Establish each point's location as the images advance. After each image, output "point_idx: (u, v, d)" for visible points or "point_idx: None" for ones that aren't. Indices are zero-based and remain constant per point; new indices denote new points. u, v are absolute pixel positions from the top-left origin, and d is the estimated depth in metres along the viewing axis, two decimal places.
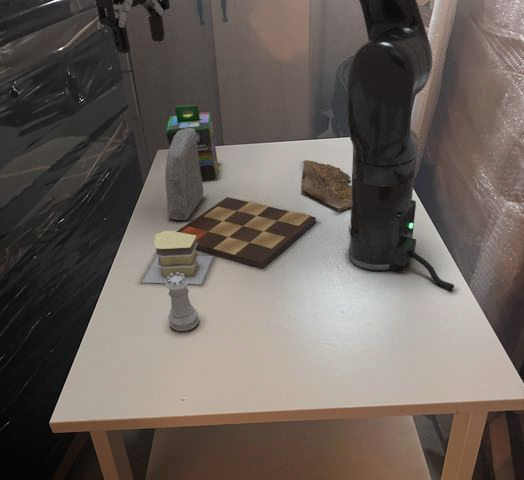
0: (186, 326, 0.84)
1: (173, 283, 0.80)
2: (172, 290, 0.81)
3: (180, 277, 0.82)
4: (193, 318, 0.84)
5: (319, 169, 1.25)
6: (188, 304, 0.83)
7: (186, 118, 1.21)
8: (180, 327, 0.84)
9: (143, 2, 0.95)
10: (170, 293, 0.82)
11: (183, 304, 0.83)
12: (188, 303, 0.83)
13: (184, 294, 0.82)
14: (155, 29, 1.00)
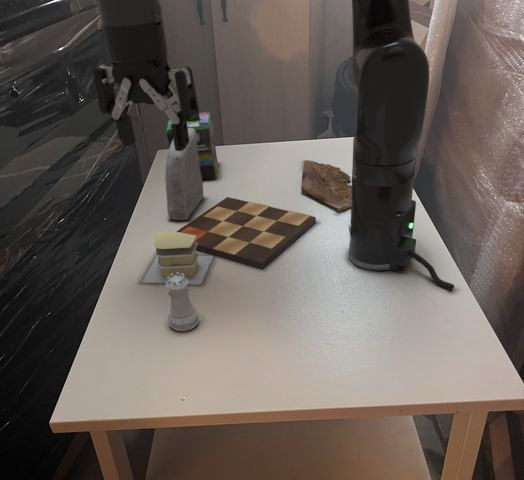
0: (186, 326, 0.84)
1: (173, 283, 0.80)
2: (172, 290, 0.81)
3: (180, 277, 0.82)
4: (193, 318, 0.84)
5: (319, 169, 1.25)
6: (188, 304, 0.83)
7: None
8: (180, 327, 0.84)
9: (150, 102, 0.78)
10: (170, 293, 0.82)
11: (183, 304, 0.83)
12: (188, 303, 0.83)
13: (184, 294, 0.82)
14: None
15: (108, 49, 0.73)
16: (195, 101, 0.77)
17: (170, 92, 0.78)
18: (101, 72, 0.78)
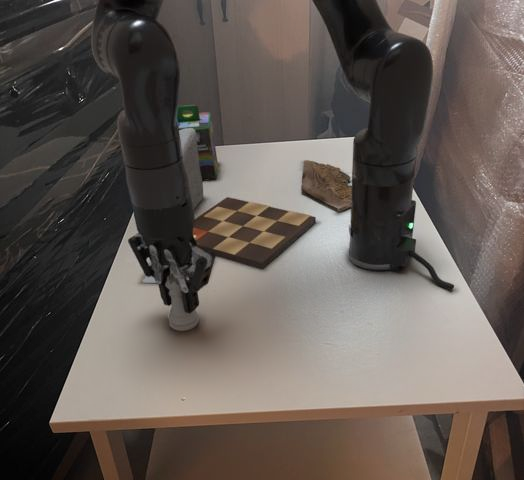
0: (186, 326, 0.84)
1: (173, 283, 0.80)
2: (172, 290, 0.81)
3: None
4: (193, 318, 0.84)
5: (319, 169, 1.25)
6: None
7: (186, 118, 1.21)
8: (180, 327, 0.84)
9: (167, 263, 0.79)
10: (170, 293, 0.82)
11: (182, 304, 0.83)
12: None
13: None
14: None
15: None
16: (207, 277, 0.79)
17: (190, 261, 0.79)
18: (134, 241, 0.80)
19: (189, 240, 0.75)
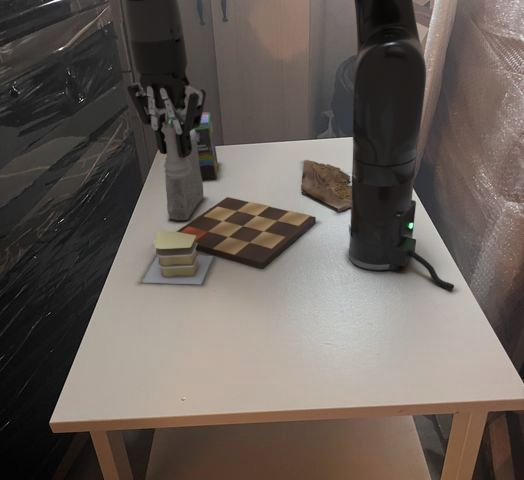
0: (180, 172, 0.93)
1: (168, 126, 0.89)
2: (167, 134, 0.90)
3: None
4: (186, 165, 0.93)
5: (319, 169, 1.25)
6: None
7: None
8: (175, 173, 0.93)
9: (163, 105, 0.87)
10: (165, 139, 0.91)
11: (177, 149, 0.91)
12: None
13: None
14: None
15: (134, 61, 0.83)
16: (199, 118, 0.87)
17: (184, 104, 0.88)
18: (133, 88, 0.89)
19: (182, 78, 0.84)
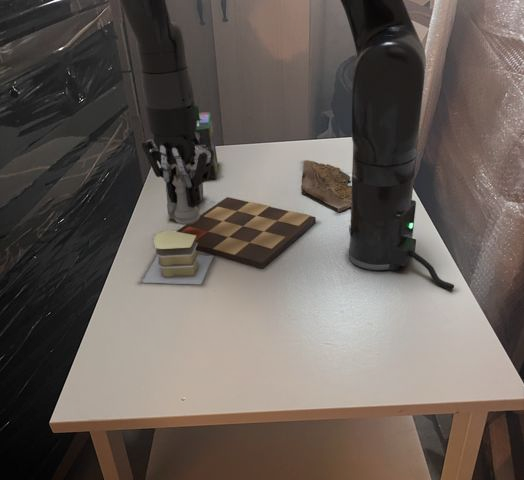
0: (189, 220, 1.01)
1: (179, 180, 0.97)
2: (178, 186, 0.98)
3: None
4: (195, 213, 1.01)
5: (319, 169, 1.25)
6: None
7: None
8: (184, 221, 1.01)
9: (174, 162, 0.95)
10: (176, 190, 0.99)
11: (186, 200, 0.99)
12: None
13: None
14: None
15: (149, 124, 0.91)
16: (207, 173, 0.95)
17: (193, 160, 0.96)
18: (147, 144, 0.97)
19: (192, 139, 0.92)
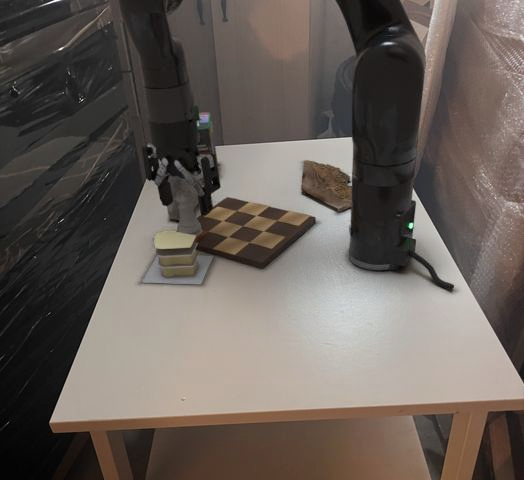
0: None
1: (181, 196, 0.99)
2: (180, 202, 1.00)
3: (187, 192, 1.00)
4: (197, 228, 1.03)
5: (319, 169, 1.25)
6: (193, 216, 1.02)
7: None
8: None
9: (182, 177, 0.96)
10: (179, 206, 1.01)
11: (189, 215, 1.01)
12: (193, 215, 1.02)
13: (190, 206, 1.00)
14: None
15: (151, 137, 0.92)
16: (217, 179, 0.95)
17: (200, 170, 0.96)
18: (148, 150, 0.97)
19: (194, 152, 0.93)
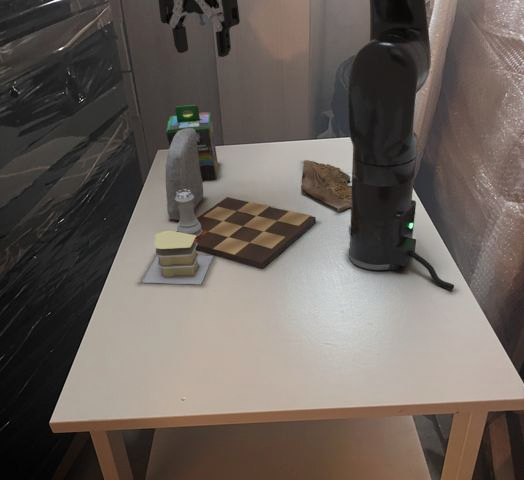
0: None
1: (181, 196, 0.99)
2: (180, 202, 1.00)
3: (187, 192, 1.00)
4: (197, 228, 1.03)
5: (319, 169, 1.25)
6: (193, 216, 1.02)
7: (186, 118, 1.21)
8: None
9: (200, 12, 0.93)
10: (179, 206, 1.01)
11: (189, 215, 1.01)
12: (193, 215, 1.02)
13: (190, 207, 1.00)
14: None
15: None
16: (236, 12, 0.91)
17: (218, 4, 0.93)
18: None
19: None
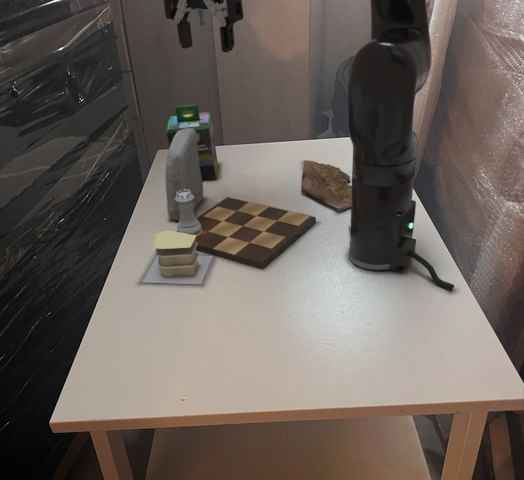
0: None
1: (181, 196, 0.99)
2: (180, 202, 1.00)
3: (187, 192, 1.00)
4: (197, 228, 1.03)
5: (319, 169, 1.25)
6: (193, 216, 1.02)
7: (186, 118, 1.21)
8: None
9: (204, 7, 0.93)
10: (179, 206, 1.01)
11: (189, 215, 1.01)
12: (193, 215, 1.02)
13: (190, 207, 1.00)
14: None
15: None
16: (240, 7, 0.92)
17: (222, 0, 0.93)
18: None
19: None
